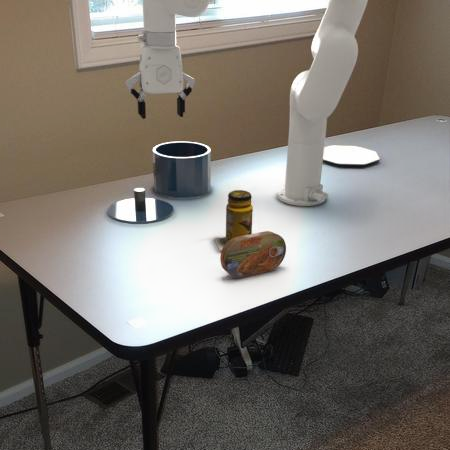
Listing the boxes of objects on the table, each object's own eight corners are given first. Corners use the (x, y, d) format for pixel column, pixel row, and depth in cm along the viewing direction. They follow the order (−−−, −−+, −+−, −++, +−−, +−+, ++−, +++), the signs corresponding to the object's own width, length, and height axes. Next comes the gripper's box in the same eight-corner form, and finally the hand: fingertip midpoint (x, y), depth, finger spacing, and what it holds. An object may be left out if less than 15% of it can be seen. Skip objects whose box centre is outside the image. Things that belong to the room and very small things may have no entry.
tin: (224, 281, 137) (225, 243, 132) (217, 275, 139) (218, 238, 134) (285, 268, 142) (288, 231, 137) (278, 262, 145) (280, 226, 140)
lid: (186, 216, 166) (185, 192, 162) (129, 231, 158) (127, 206, 154) (151, 197, 176) (150, 174, 173) (96, 210, 168) (93, 186, 165)
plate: (382, 169, 201) (383, 164, 200) (319, 167, 201) (319, 162, 200) (372, 150, 216) (372, 146, 215) (313, 149, 216) (313, 144, 215)
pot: (221, 192, 181) (222, 151, 174) (174, 203, 173) (173, 161, 167) (189, 177, 191) (189, 138, 184) (144, 187, 183) (141, 147, 177)
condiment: (256, 249, 151) (258, 197, 143) (220, 251, 149) (221, 200, 142) (248, 236, 156) (250, 186, 149) (213, 239, 155) (214, 189, 147)
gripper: (127, 42, 148) (131, 122, 158) (199, 41, 153) (199, 118, 163) (120, 37, 153) (124, 114, 164) (190, 36, 158) (190, 111, 169)
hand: (161, 116), depth 163 cm, fingers open, 9 cm apart
